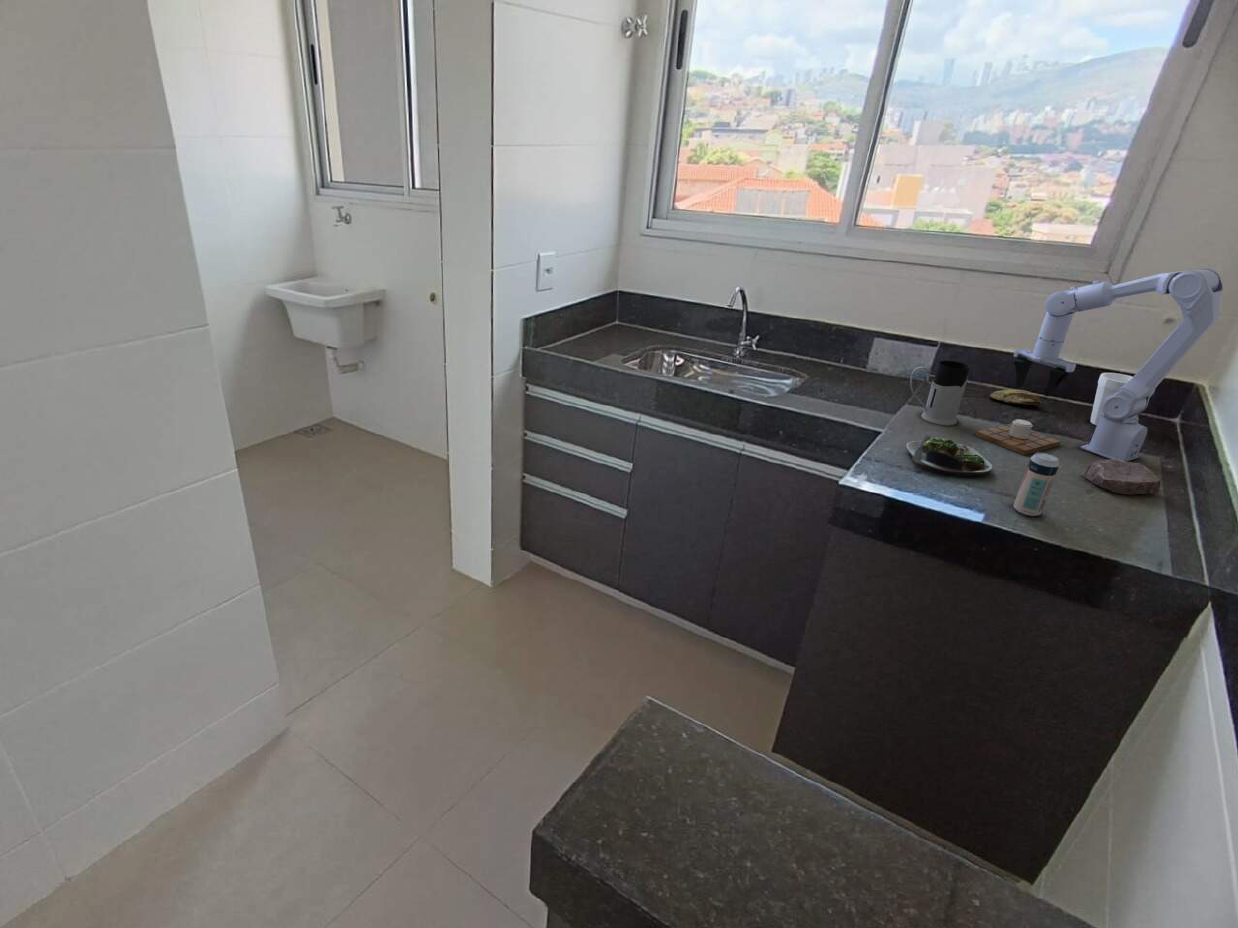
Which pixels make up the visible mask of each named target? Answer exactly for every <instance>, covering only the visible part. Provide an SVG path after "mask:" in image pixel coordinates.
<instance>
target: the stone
mask: <svg viewBox="0 0 1238 928" xmlns="http://www.w3.org/2000/svg"><path fill="white" fill-rule="evenodd" d="M1084 478H1085V479H1087V480H1088V481H1090V482H1091V483H1092V484H1094V485H1097V486H1099V487H1100V488H1103V489H1106V490H1108V491H1110V492H1112V493H1117V494H1123V495H1137V494H1139V495H1145V494H1158V493H1159V492H1160V489H1161V482H1162V480H1161V479H1160V477H1158V476H1157V475H1156V474H1154V471H1152V470H1150V468H1148V467H1147V466H1145V465H1144V464H1142V463H1141V462H1132V461H1126V462H1122V461H1119V460H1115V459H1101V460H1095V461H1093V462H1092V463H1091V464H1088V466H1087V468H1086V470H1085V471H1084Z"/></svg>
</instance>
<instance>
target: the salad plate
mask: <svg viewBox="0 0 1238 928" xmlns="http://www.w3.org/2000/svg"><path fill="white" fill-rule="evenodd" d="M906 449H907V451H908V452H909V454H910V455H911V456H912V461H913V462H914V463H916V464H917V465H919V467H921V468H922V469H923V470H925V471H927V472H930V473H932V474H935V475H939V476H945V477H953V478H962V479H979V478H983V477H985V476H987V475H989V474H990V473H992V471H993V469H994V466H993V464H992V463H991V462H989V461H988V460H987V459H986V458H985V457H984V456H983V455H982V454H980V453H979V452H978V451H977V450H976V449H974V448H972V447H971V446H968V445H964V444H961V443H956V442H954V440H952V439H950V438H948V439H946V438H939V436H934V437H933V438H932V439H931V436H930V435H928V434H923V435H922V436H921V439H920V440H911V441H908V442H907V443H906Z"/></svg>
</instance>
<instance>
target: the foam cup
mask: <svg viewBox="0 0 1238 928" xmlns="http://www.w3.org/2000/svg"><path fill="white" fill-rule="evenodd" d="M1133 377H1134V376H1131V375H1128V374H1122V373H1117V372H1102V373H1101V374H1099V378H1098V380H1097V388H1096V391H1095V392H1096V393H1095V398H1094V402H1093V405H1092V410H1091V415H1090V420H1089V421H1090V423H1091V424H1092V425H1095V426H1097V424H1098V422H1099V419H1100V417H1101V414H1102V412H1103V411H1102V403H1103V401H1104V400H1105V398H1107V397H1108V396H1109V395H1112V394H1114V393H1116V392H1117V391H1118V390H1119V389H1120V388H1121V387H1122V386H1123V385H1125V384H1126V383H1127V382H1128V381H1129V380H1131V379H1132V378H1133Z"/></svg>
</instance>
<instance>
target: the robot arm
mask: <svg viewBox="0 0 1238 928" xmlns="http://www.w3.org/2000/svg"><path fill="white" fill-rule="evenodd" d="M1069 289H1070V290H1058V291H1057V292H1056V291H1055V292H1054V293H1052V294H1050V295H1049V296H1048V297H1047V298H1046V300H1045V304H1044V309H1045V310H1046V313H1045V314H1044V315H1045V316H1044V319H1043V321H1042V324H1041V327H1040V330H1039V333H1038V336H1037V339H1036V342H1035V345H1034V348H1033V350H1027V349H1023V348H1016V349H1015V350H1014V353H1013V358H1015V359H1013V365H1014V368H1015V377H1016V379H1015V387H1017V388H1021V387H1023V386H1024V385H1025V383H1026V379H1027V376H1028V373H1029V371H1030V369H1031V367H1032V365H1033V363H1038V364H1040V365H1046V366H1048V367H1052V369H1050V370H1049V376H1048V382H1047V386H1046V388H1045V390H1044V395H1043V396H1044V397H1051V396H1052V395H1053V393H1054V392H1055V390H1056V389H1057V388H1058V386H1060V384H1061V383H1062V382H1063V381H1064V379H1066V378H1067V377H1068V376H1069V375H1071V373H1073V372H1074V371H1075V369H1076V366H1077V363H1074V362H1070V361H1068V360H1065V359H1063V358H1060V355H1061V352H1062V348H1063V345H1064V343H1065V340H1066V338H1067V335H1068V333H1069V332H1068V331H1069V329H1070V326H1071V323H1072V320H1073V317H1074V315H1075V313H1077V312H1078V313H1079V312H1084V311H1090V310H1095V309H1099V308H1105V307H1109V306H1111V305H1112V304H1113V303H1114V302H1115V300H1117V299H1119V298H1125V297H1130V296H1134V295H1135V296H1136V295H1140V294H1146V293H1151V292H1155V293H1156V292H1157V293H1159V294H1162V295H1169V294H1170V296H1171V298H1172V299H1173V300H1174V301H1175V302H1176V304H1177V305H1178V306H1179V307H1180V311H1181V314H1182V317H1183V319H1182V320H1181V322H1180V323H1179V324H1178V325H1177V327H1175V328H1174V330H1173V331H1172V332H1171V333H1170V334H1169V335H1168V337H1167V338H1166V339H1165V340H1164V341H1163V342H1162V343H1161V345H1160V346H1159V347H1158V348H1157V349H1156V350H1155V351H1154V352H1153V353H1152V355H1151V356H1150V357H1149V358H1148V359H1147V360H1146V361H1145V363H1144V364H1143V365H1142V366H1141V367H1140V368H1139V370H1138V371H1137V372H1136V373H1135V374H1134V375H1133V376H1132V377H1133V378H1132V379H1131V380H1129V381H1128V382H1127V383H1126V384H1125V385H1123V386H1122V387H1121V388H1120V389H1119V390H1118V391H1117V392H1116V393H1114V394H1112V395H1109V396H1108V397H1107V398H1105V400H1104V401H1103V403H1102V411H1103V412H1102V414H1101V417H1100V419H1099V422H1098V424H1097V425H1096V427H1095V429H1094V431H1093V435H1092V437H1091V440H1090V441H1089V443H1087V444H1084V445H1081V446H1080V449H1082V450H1084V451H1087V452H1090V453H1093V454H1095V455H1098V456H1101V457H1103V458H1106V459H1108V460H1111V459H1115V460H1119V461H1122V462H1131V461H1132V460H1136V459H1138V458H1139V454H1140V451H1141V449H1142V447H1143V445H1144V443H1145V440H1146V437H1147V435H1148V427H1147V426H1144V425H1142V424H1140V423H1139V414H1140V413H1142V412H1144V411H1145V410H1146V409H1147V407H1148V405H1149V401H1150V398H1151V397H1152V396H1153V395H1154V394H1155V391H1156V388H1157V387H1158V386H1159V385H1160V383H1161V382H1162V381H1163V380H1165V378H1167V376H1168V375H1169V374H1170V373H1171V372H1172V371H1173V369H1174V368H1175V367H1176V366H1177V365H1178V364H1179V363H1180V362H1181V361H1182V360H1183V358H1185V356H1186V355H1187V354H1188V353H1189V352H1190V351H1191V349H1192V348H1194V347H1195V346H1196V344H1197V343H1198V342H1199V341H1200V340H1201V339H1202V338H1203V337H1204V335H1206V333H1207V332H1208V331H1209V330H1210V329H1211V328H1212V327H1213V325H1215V323H1216V322H1217V320H1218V318H1219V314H1220V307H1221V299H1222V294H1223V292H1224V289H1225V286H1224V283H1223V281H1222V278H1221V276H1220V274H1219V273H1218V271H1216V270H1214V269H1211V268H1205V267H1204V268H1199V269H1195V270H1181V271H1172V272H1170V271H1169V272H1164V273H1163V272H1162V273H1158V274H1154V275H1150V276H1146V277H1141V278H1137V279H1134V280H1130V281H1125V282H1122V283H1118V284H1113V283H1111V282H1109V281H1107V280H1106V281H1105V280H1104V281H1102V280H1101V279H1100V280H1099V279H1098V280H1094V281H1092V284H1089V285H1084V286H1080V287H1077V286H1071V287H1070V288H1069Z"/></svg>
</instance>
